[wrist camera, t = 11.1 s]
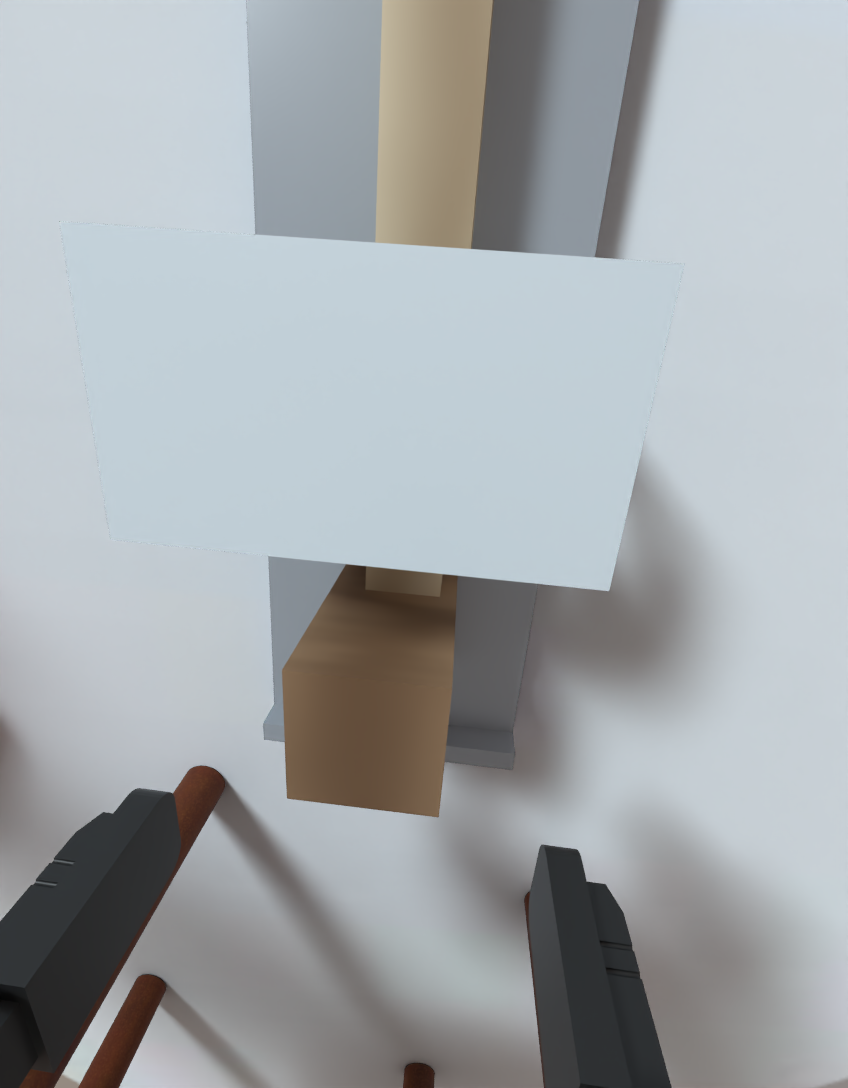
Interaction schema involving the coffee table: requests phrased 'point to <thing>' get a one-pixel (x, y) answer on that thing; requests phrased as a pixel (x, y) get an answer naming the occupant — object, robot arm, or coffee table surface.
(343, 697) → the walnut block
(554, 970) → the robot arm
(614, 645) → the coffee table surface
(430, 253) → the grey pocketed tray
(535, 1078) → the coffee table surface
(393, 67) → the beech dowel
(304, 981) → the coffee table surface
